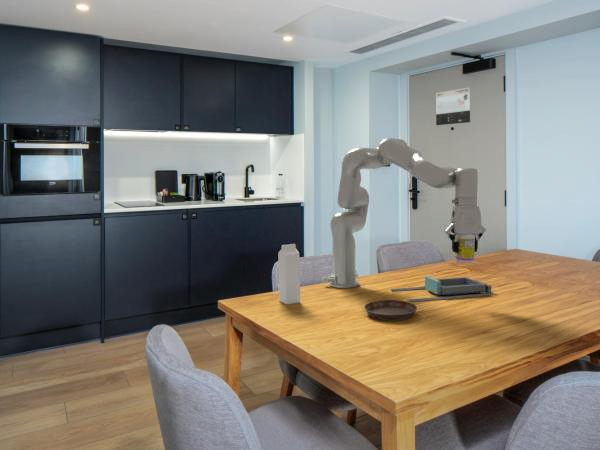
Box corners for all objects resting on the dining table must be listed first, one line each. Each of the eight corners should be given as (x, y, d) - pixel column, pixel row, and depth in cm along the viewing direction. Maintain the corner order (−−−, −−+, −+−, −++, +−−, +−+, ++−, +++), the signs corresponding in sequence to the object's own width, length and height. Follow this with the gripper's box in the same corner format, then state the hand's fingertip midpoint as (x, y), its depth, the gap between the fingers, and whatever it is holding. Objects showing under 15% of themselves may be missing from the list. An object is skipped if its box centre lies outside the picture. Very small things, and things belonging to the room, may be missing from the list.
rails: (409, 301, 187) (409, 294, 187) (390, 290, 205) (390, 283, 205) (495, 295, 195) (495, 287, 195) (470, 284, 212) (470, 278, 212)
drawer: (439, 297, 192) (439, 282, 191) (422, 289, 206) (422, 275, 205) (485, 294, 196) (485, 279, 196) (466, 286, 210) (466, 272, 209)
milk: (300, 302, 190) (299, 244, 187) (286, 304, 187) (285, 246, 184) (292, 298, 195) (292, 242, 193) (278, 301, 192) (277, 244, 190)
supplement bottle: (452, 260, 185) (452, 225, 184) (469, 259, 186) (470, 225, 184) (459, 263, 179) (460, 227, 177) (477, 263, 179) (478, 227, 178)
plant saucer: (382, 326, 160) (382, 316, 160) (354, 312, 177) (354, 303, 176) (427, 318, 167) (427, 309, 167) (397, 305, 184) (397, 297, 183)
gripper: (448, 203, 175) (447, 254, 177) (493, 202, 178) (492, 252, 180) (438, 202, 182) (437, 251, 184) (481, 201, 185) (480, 249, 187)
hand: (464, 251), depth 182 cm, fingers closed on supplement bottle, 6 cm apart
